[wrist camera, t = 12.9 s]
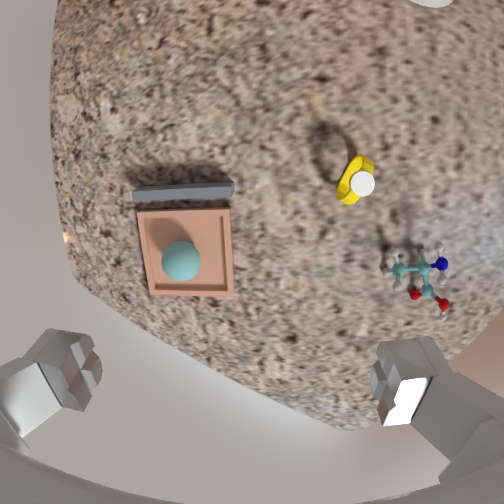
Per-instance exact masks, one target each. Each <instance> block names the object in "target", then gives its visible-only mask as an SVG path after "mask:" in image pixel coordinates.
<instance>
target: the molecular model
mask: <svg viewBox="0 0 504 504" xmlns="http://www.w3.org/2000/svg"><path fill="white" fill-rule="evenodd" d="M443 248H444V246H443V244H442V243H441V242H437V243H436V244H435V250H436V251H437V252H438V257H439V259H437V261H436V263H433V264H428V263H427V262H426V261H425V257H426V256H427V250H426V249H421V250H420V252H419V254H420V256H421V262H419V263H418V265H417V266H409V267H405V266H404V264H402V263H400V262H399V258H398V255H399V249H398V248H397V247H393V248H392V249H391V250H390V254H391V255H392V256H394V260H395V264H394V266H393V268H392V269H390V268H387V267H386V268H384V269H383V275H384V276H389V275H390V274H391V273H393V274H394V275H395V276H396V282H394V284H393V289H394V290H396V291H399V290H401V288H402V284H401V282H400V278H401V276H402V275H404V273H405V271H418V272H419V273H420V274H422V275H423V281H424V285H423V286H422V288H421V289H418V290H416V289H414V290H412V291H411V293H410V297H411V299H413V300H417V299H418V298H419V297H420V296H425V297H428V296H431V297H433V298H434V299H435V300H436V301H437V302H439V307H440V309H442V310H441V313H440V315H439V319H440V320H445V319H446V318H447V314H446V313H445V310H446V309H447V308H448V307H449V301H448V300H447V299H445V298H444V299H441V298H439V297H438V296H437V295H436V294H435V293H433V287H432V286H431V285H430V284H428V280H427V273H428V271H429V269H432V268H437V269H438V270H440V276H439V277H438V283H439V284H440V285H444V284H445V283H446V281H447V278H446V276H445V275H444V270H445V269H447V267H448V261H447V260H446V259H445V258H443V254H442V250H443ZM420 292H421V293H420Z"/></svg>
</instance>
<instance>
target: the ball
mask: <svg viewBox="0 0 504 504" xmlns="http://www.w3.org/2000/svg"><path fill="white" fill-rule="evenodd" d="M161 264H162V268H163V270H164V272H165V274H166V275H167V276H168V277H170V278H171V279H173V280H176V281H187V280H189V279H191V278H193V277H194V276H195V275H196V274H197V273H198V271H199V269H200V266H201V257H200V254H199V251H198V250H197V248H196V247H195V246H194V245H192V244H191V243H189V242H185V241H177V242H173V243H171V244H170V245H169V246H167V247H166V249H165V250H164V252H163V254H162V258H161Z"/></svg>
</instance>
